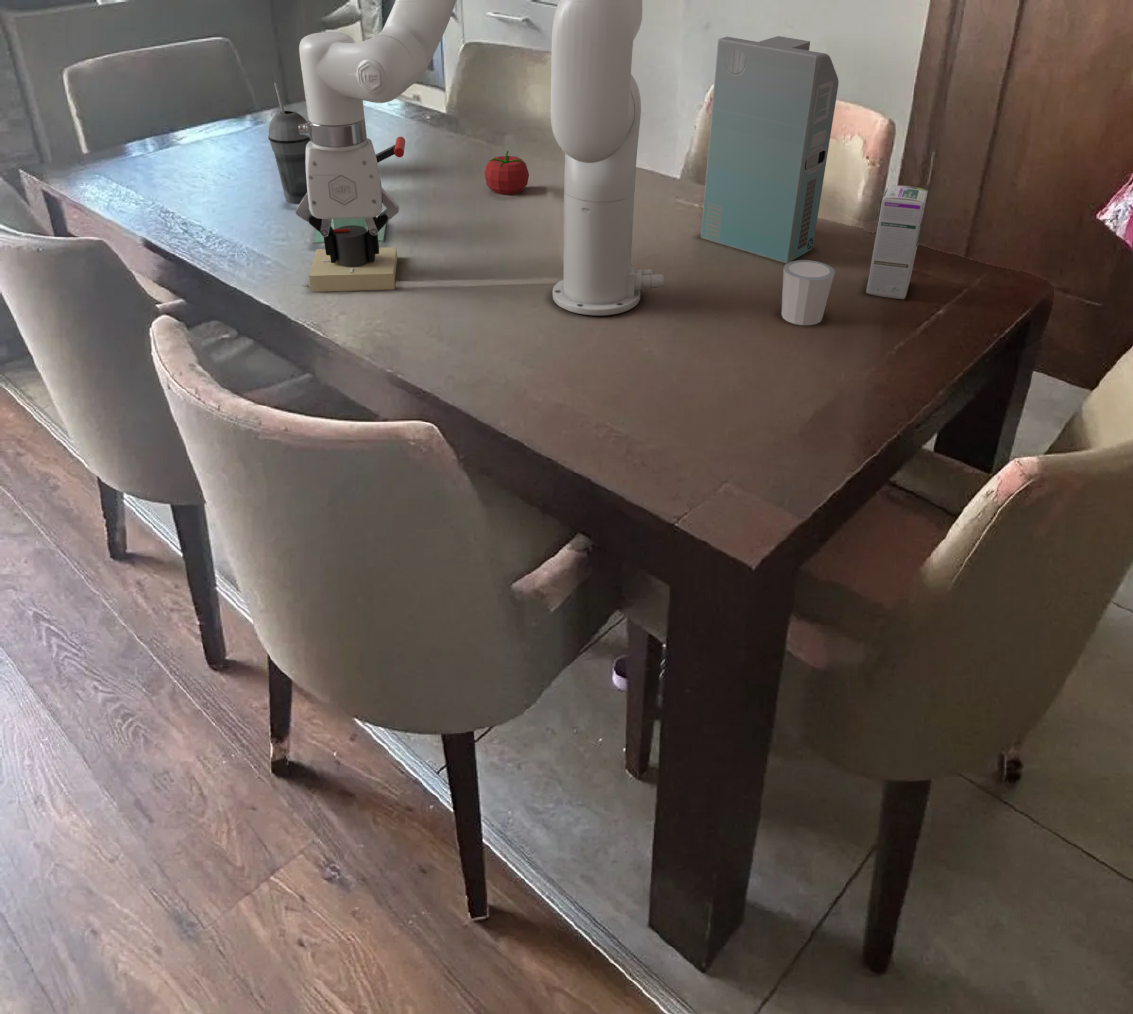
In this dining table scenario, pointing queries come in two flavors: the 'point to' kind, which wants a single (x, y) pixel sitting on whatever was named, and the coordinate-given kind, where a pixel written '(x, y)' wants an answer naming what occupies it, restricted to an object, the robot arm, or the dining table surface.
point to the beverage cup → (289, 152)
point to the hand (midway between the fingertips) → (353, 257)
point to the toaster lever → (393, 150)
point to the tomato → (506, 174)
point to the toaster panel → (354, 273)
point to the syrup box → (896, 241)
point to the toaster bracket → (346, 222)
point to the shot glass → (805, 291)
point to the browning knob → (351, 245)
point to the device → (768, 145)
